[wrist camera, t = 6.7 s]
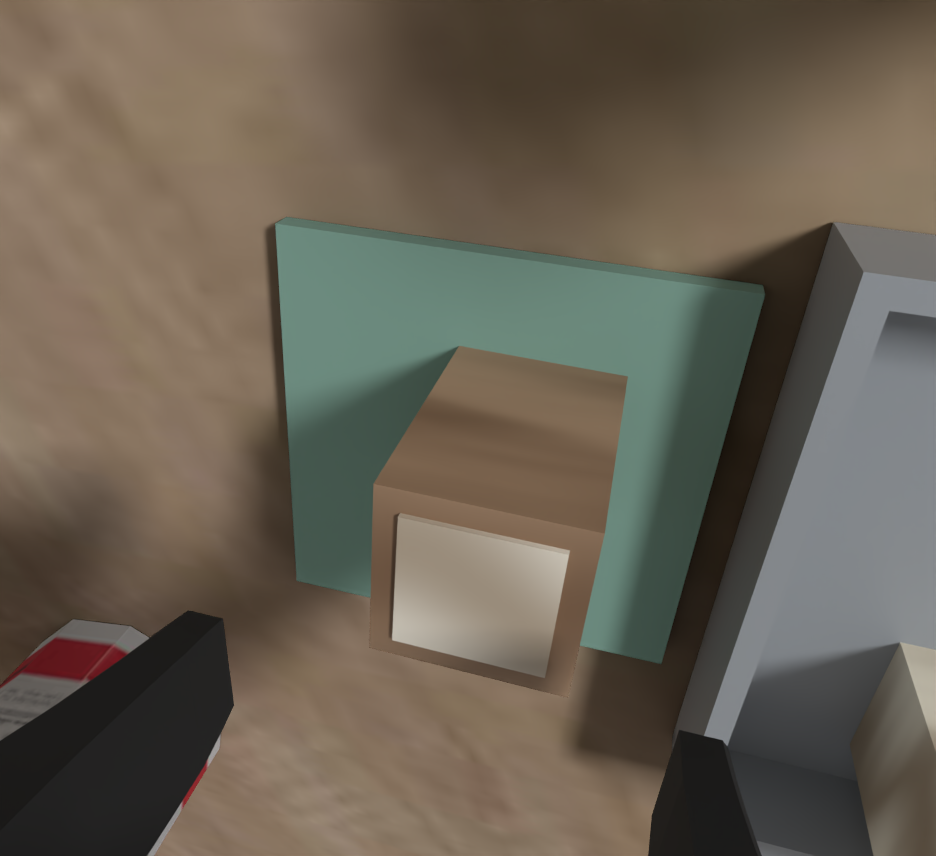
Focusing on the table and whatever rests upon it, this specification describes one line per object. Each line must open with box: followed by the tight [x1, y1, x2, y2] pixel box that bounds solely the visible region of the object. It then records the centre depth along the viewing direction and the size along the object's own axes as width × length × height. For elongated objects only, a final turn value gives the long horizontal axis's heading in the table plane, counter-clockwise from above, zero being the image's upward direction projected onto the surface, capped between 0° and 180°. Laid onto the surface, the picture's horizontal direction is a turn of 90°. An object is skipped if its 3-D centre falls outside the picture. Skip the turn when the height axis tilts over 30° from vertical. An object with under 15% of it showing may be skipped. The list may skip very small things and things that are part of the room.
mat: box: [275, 217, 765, 664], centre depth 20 cm, size 11×11×1 cm
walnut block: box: [369, 346, 628, 698], centre depth 17 cm, size 4×4×6 cm
